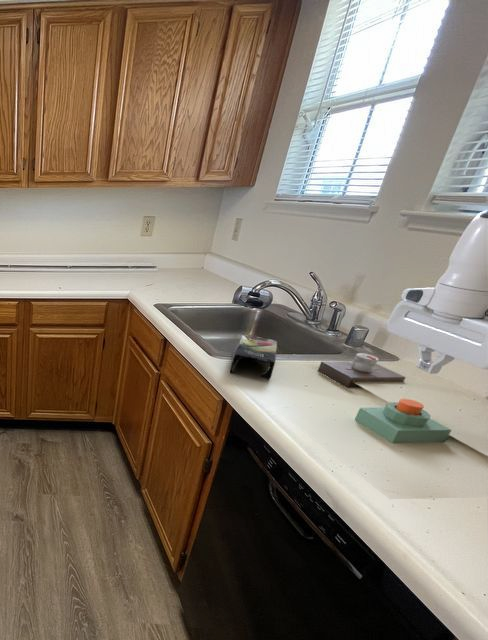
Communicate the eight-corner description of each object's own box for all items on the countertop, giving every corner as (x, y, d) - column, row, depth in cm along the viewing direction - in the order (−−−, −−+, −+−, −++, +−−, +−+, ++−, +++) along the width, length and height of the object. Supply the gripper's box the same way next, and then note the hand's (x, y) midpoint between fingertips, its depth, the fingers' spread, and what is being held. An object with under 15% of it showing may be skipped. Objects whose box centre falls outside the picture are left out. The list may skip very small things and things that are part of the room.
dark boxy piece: (235, 349, 127) (240, 330, 124) (272, 357, 122) (279, 337, 119) (227, 373, 112) (233, 353, 109) (269, 383, 107) (277, 362, 104)
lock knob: (347, 365, 110) (352, 351, 108) (363, 365, 110) (369, 352, 108) (360, 372, 106) (366, 358, 104) (377, 372, 106) (383, 358, 104)
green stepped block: (402, 418, 92) (412, 399, 90) (444, 442, 84) (456, 421, 81) (354, 419, 91) (363, 399, 89) (391, 443, 83) (402, 422, 81)
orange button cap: (407, 407, 87) (411, 398, 86) (424, 416, 84) (429, 407, 83) (390, 407, 87) (395, 398, 86) (407, 416, 84) (411, 407, 83)
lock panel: (366, 370, 114) (371, 360, 113) (400, 387, 105) (406, 376, 104) (317, 371, 114) (321, 360, 112) (347, 388, 105) (352, 377, 103)
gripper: (551, 320, 66) (502, 396, 72) (425, 288, 85) (395, 350, 91) (513, 320, 66) (467, 396, 72) (396, 287, 84) (367, 350, 91)
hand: (426, 370), depth 82 cm, fingers closed
